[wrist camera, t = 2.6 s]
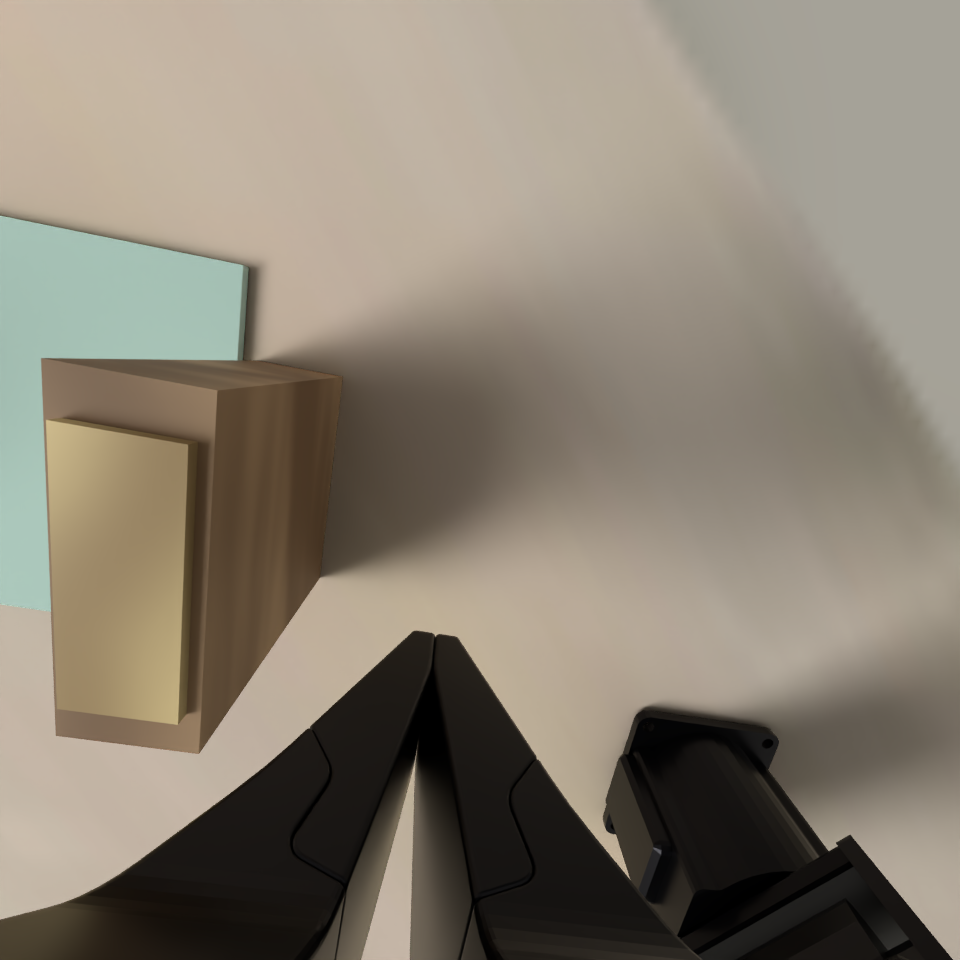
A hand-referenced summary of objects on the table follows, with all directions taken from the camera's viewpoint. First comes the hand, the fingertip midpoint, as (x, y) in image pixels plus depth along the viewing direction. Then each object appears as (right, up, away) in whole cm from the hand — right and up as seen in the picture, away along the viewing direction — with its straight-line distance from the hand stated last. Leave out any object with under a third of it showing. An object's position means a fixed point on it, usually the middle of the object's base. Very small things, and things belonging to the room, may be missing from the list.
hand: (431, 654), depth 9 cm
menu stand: (-6, +4, +9) cm, 11 cm away
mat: (-13, +5, +8) cm, 16 cm away
